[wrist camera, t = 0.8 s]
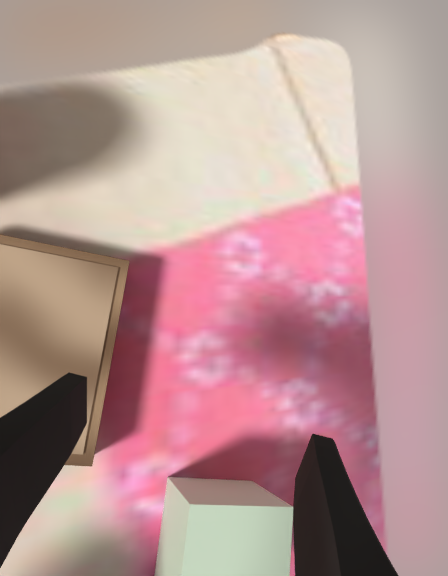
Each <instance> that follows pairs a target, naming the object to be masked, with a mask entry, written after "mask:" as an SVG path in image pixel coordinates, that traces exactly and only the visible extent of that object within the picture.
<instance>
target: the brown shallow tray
mask: <svg viewBox="0 0 448 576" xmlns="http://www.w3.org/2000/svg"><path fill="white" fill-rule="evenodd" d="M128 267H129V261H128V260H123V259H118V258H113V257H108V256H103V255H98V254H94V253H89V252H84V251H79V250H74V249H69V248H64V247H59V246H54V245H49V244H44V243H39V242H34V241H29V240H25V239H20V238H15V237H10V236H5V235H0V417H2V416H4V415H5V414H7V413H8V412H10V411H11V410H13V409H15V408H16V407H18V406H19V405H21V404H22V403H24V402H25V401H27V400H28V399H30V398H31V397H33V396H34V395H36V394H37V393H39V392H40V391H42V390H43V389H45V388H46V387H48V386H49V385H51V384H52V383H53V382H55V381H56V380H58V379H59V378H61V377H62V376H64V375H65V374H67V373H69V372H70V373H74V374H77V375H81V376H85V377H87V424H86V426H85V428H84V430H83V432H82V434H81V436H80V438H79V440H78V442H77V444H76V446H75V448H74V450H73V452H72V454H71V455H70V457H69V458H68V460H67V461H66V463H65V464H64V465H75V466H92V464H93V458H94V453H95V448H96V442H97V437H98V431H99V426H100V420H101V415H102V409H103V404H104V398H105V393H106V387H107V382H108V376H109V371H110V365H111V360H112V354H113V349H114V343H115V338H116V332H117V327H118V321H119V316H120V310H121V305H122V299H123V294H124V288H125V283H126V277H127V272H128Z"/></svg>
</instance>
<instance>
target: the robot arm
mask: <svg viewBox="0 0 448 576" xmlns="http://www.w3.org/2000/svg"><path fill="white" fill-rule="evenodd" d="M86 424H87V377H85V376H81V375H77V374H74V373H70V372H69V373H67V374H65V375H64V376H62V377H61V378H59V379H58V380H56V381H55V382H53V383H52V384H51V385H49V386H48V387H46V388H45V389H43V390H42V391H40V392H39V393H37V394H36V395H34V396H33V397H31V398H30V399H28V400H27V401H25V402H24V403H22V404H21V405H19V406H18V407H16V408H15V409H13V410H11V411H10V412H8V413H7V414H5V415H4V416H2V417H0V568H1V566H2V564H3V562H4V560H5V559H6V557H7V555H8V553H9V551H10V549H11V548H12V546H13V544H14V542H15V540H16V538H17V537H18V535H19V533H20V532H21V530H22V528H23V527H24V525H25V524H26V522H27V520H28V519H29V517H30V516H31V514H32V513H33V511H34V510H35V508H36V507H37V505H38V504H39V502H40V501H41V499H42V498H43V496H44V495H45V493H46V492H47V490H48V489H49V487H50V486H51V484H52V483H53V481H54V480H55V478H56V477H57V475H58V474H59V472H60V471H61V469H62V467H63V466H64V464H65V463H66V461H67V460H68V458H69V457H70V455H71V454H72V452H73V450H74V448H75V446H76V444H77V442H78V440H79V438H80V436H81V434H82V432H83V430H84V428H85V426H86ZM293 526H294V554H295V576H398V574H397V572H396V571H395V569H394V567H393V566H392V564H391V562H390V560H389V559H388V557H387V555H386V553H385V551H384V550H383V548H382V546H381V544H380V542H379V540H378V538H377V536H376V534H375V532H374V531H373V529H372V527H371V525H370V523H369V521H368V519H367V517H366V514H365V512H364V510H363V508H362V506H361V504H360V502H359V499H358V497H357V495H356V493H355V491H354V488H353V486H352V484H351V482H350V479H349V477H348V474H347V472H346V470H345V467H344V465H343V462H342V460H341V457H340V455H339V452H338V449H337V447H336V444H335V442H334V440H333V439H331V438H327V437H323V436H319V435H316V434H312V436H311V439H310V442H309V444H308V447H307V449H306V452H305V454H304V457H303V460H302V462H301V465H300V467H299V470H298V473H297V475H296V479H295V492H294V506H293Z"/></svg>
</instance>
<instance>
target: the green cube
mask: <svg viewBox="0 0 448 576" xmlns="http://www.w3.org/2000/svg"><path fill="white" fill-rule="evenodd" d="M292 525H293V506H291V505H289V504H288V503H286V502H285V501H283V500H282V499H280V498H278V497H277V496H275V495H274V494H272V493H271V492H269V491H267V490H266V489H264V488H263V487H261V486H260V485H258V484H256V483H255V482H253V481H246V480H224V479H203V478H181V477H168V478H167V486H166V493H165V500H164V508H163V515H162V522H161V530H160V537H159V544H158V552H157V559H156V566H155V574H154V576H289V575H290V558H291V541H292Z"/></svg>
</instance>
